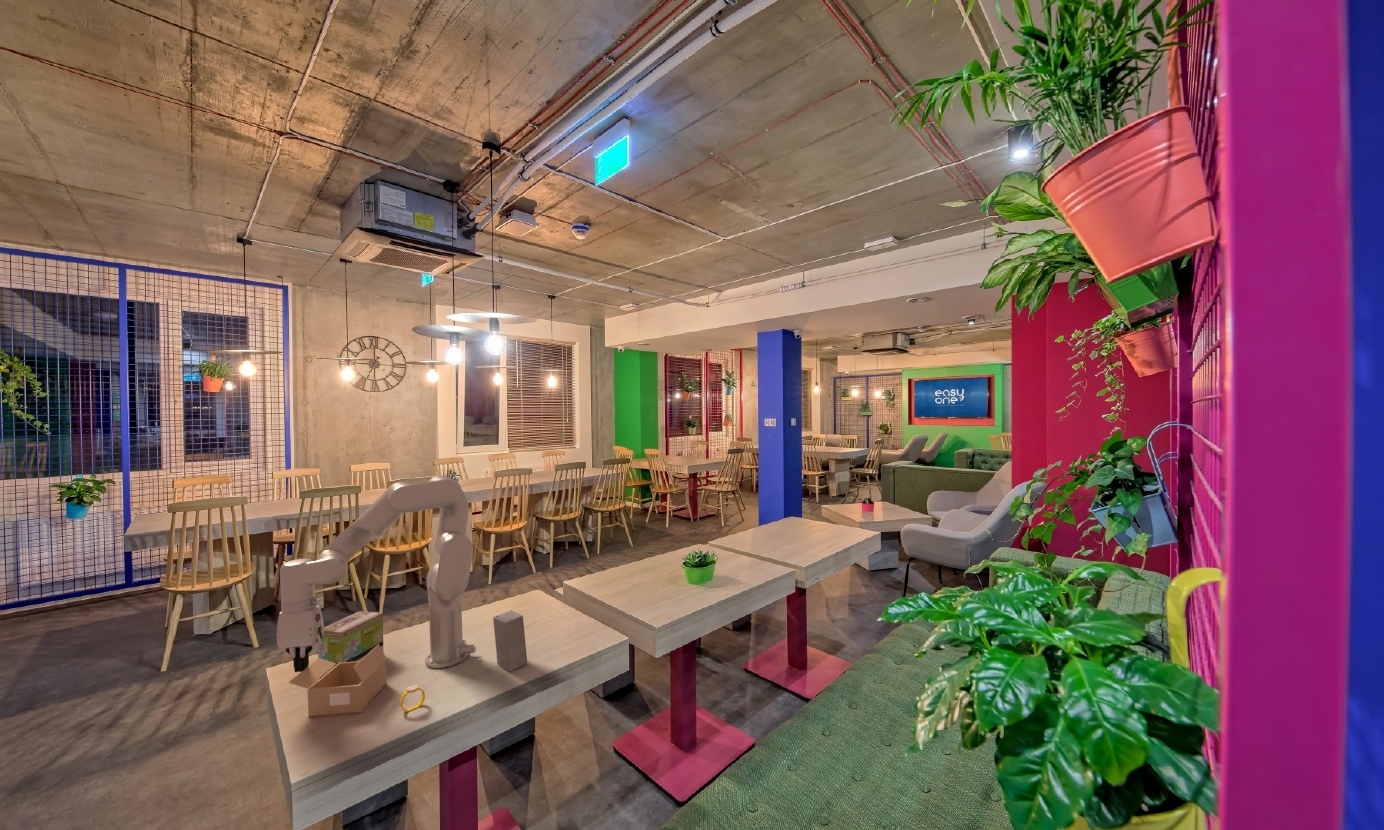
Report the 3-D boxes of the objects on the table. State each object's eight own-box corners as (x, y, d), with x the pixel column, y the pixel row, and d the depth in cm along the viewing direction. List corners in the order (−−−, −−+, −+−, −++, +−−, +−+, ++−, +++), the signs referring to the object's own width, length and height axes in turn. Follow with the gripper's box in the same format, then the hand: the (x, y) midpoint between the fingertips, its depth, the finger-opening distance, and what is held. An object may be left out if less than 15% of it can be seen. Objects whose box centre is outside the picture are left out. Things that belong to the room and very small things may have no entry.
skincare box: (527, 664, 157) (526, 615, 156) (506, 673, 151) (504, 622, 151) (515, 655, 162) (513, 608, 162) (493, 664, 157) (492, 615, 157)
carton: (386, 683, 147) (385, 659, 147) (359, 713, 133) (358, 685, 133) (340, 687, 146) (339, 662, 146) (308, 717, 132) (307, 689, 132)
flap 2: (385, 659, 146) (386, 658, 146) (362, 682, 134) (363, 681, 134) (377, 644, 146) (378, 644, 146) (353, 666, 134) (354, 665, 134)
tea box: (345, 680, 150) (343, 632, 150) (317, 677, 152) (316, 629, 152) (385, 655, 165) (383, 611, 165) (359, 652, 167) (358, 609, 167)
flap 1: (319, 657, 144) (318, 659, 144) (289, 681, 132) (288, 682, 132) (336, 663, 145) (335, 664, 145) (308, 687, 133) (307, 688, 133)
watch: (422, 703, 138) (423, 681, 138) (425, 707, 136) (426, 685, 136) (398, 711, 133) (399, 689, 134) (401, 715, 132) (402, 693, 132)
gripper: (335, 597, 142) (338, 660, 143) (279, 601, 141) (282, 664, 141) (318, 608, 135) (321, 674, 135) (259, 612, 133) (262, 679, 134)
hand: (301, 669), depth 138 cm, fingers closed
